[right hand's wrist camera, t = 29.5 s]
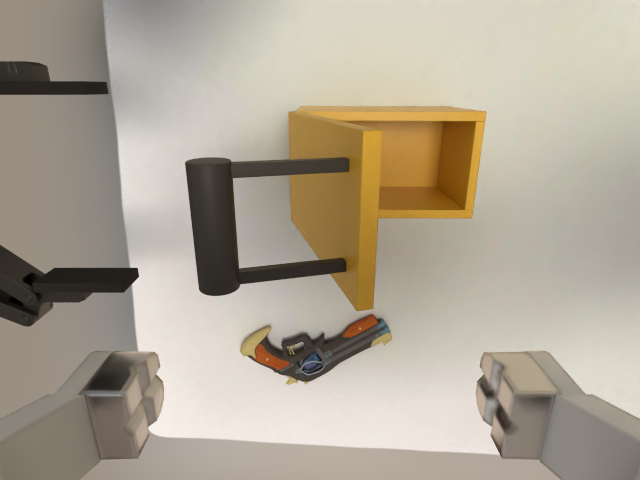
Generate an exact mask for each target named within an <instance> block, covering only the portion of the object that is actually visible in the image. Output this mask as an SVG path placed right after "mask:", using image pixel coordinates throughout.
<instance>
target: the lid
mask: <svg viewBox="0 0 640 480" xmlns="http://www.w3.org/2000/svg"><path fill="white" fill-rule="evenodd" d="M289 151H290V160H267V161H243V162H231V160H230V159H226V158H198V159H192V160H188V161H186V163H185V165H186V174H187V183H188V192H189V202H190V211H191V220H192V229H193V238H194V247H195V256H196V265H197V274H198V283H199V290H200V291H201V292H202V293H203V294H206V295H210V296H221V295H226V294H230V293H232V292H234V291H236V290H237V289H238V288H239V287H240V284H246V283H255V282H263V281H272V280H280V279H289V278H298V277H306V276H315V275H323V274H331V276H332V277H333V279H334V280H335V281H336V283H337V284H338V286H339V287H340V288H341V290H342V291H343V293H344V294H345V295H346V297H347V298H348V299H349V301H350V302H351V304H352V305H353V306H354V308H355V309H356V311H361V310H368V309H373V303H374V284H375V265H376V246H377V227H378V208H379V189H380V170H381V151H382V130H378V129H374V128H369V127H365V126H360V125H356V124H352V123H347V122H343V121H338V120H334V119H330V118H325V117H321V116H316V115H312V114H308V113H303V112H289ZM280 175H290V194H291V220H292V222H293V223H294V224H295V226H296V227H297V229H298V230H299V231H300V233H301V234H302V236H303V237H304V238H305V240H306V241H307V243H308V244H309V245H310V247H311V248H312V249H313V251H314V252H315V254H316V255H317V256H318V258H319V259H320V260H315V261H306V262H296V263H287V264H278V265H268V266H259V267H250V268H240V269H239V262H238V248H237V234H236V220H235V206H234V192H233V178H242V177H261V176H280Z"/></svg>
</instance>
